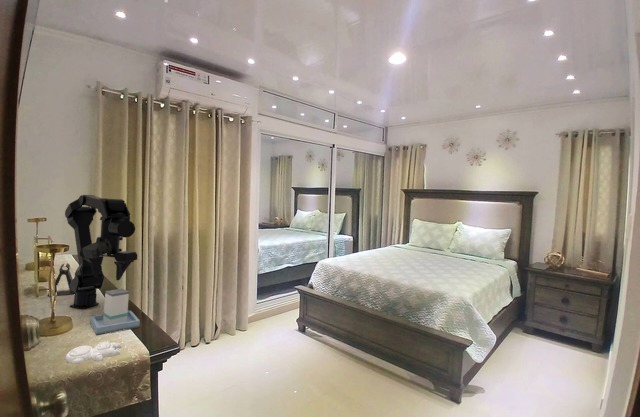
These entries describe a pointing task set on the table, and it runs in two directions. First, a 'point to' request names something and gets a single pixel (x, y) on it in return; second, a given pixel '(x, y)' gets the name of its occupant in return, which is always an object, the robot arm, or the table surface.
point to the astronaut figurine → (92, 352)
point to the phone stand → (69, 280)
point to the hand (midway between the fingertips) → (106, 278)
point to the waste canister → (115, 306)
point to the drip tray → (102, 328)
